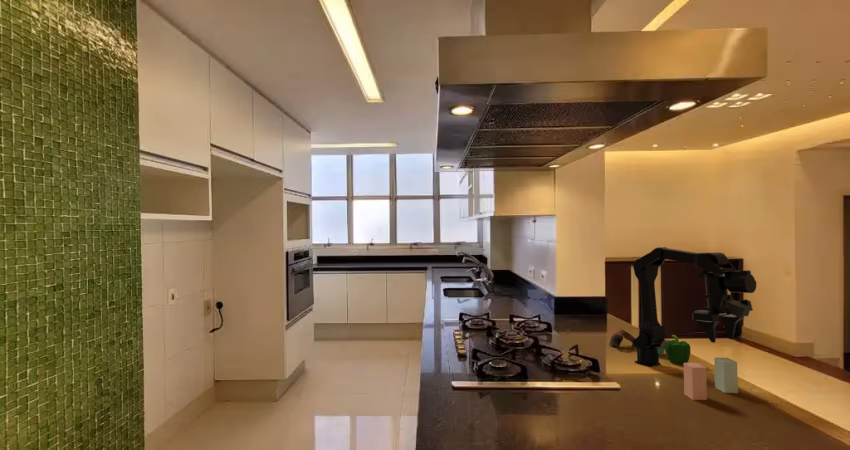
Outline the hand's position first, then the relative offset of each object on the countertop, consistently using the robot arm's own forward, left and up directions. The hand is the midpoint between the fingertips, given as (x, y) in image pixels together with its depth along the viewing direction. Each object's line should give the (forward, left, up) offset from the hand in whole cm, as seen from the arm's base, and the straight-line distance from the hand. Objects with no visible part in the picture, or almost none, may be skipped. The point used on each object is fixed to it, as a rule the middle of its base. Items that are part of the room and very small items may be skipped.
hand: (722, 340), depth 135 cm
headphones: (-47, +14, -15) cm, 51 cm away
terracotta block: (0, -16, -15) cm, 22 cm away
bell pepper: (-22, +13, -15) cm, 29 cm away
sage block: (+2, -3, -15) cm, 15 cm away
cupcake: (-33, +17, -15) cm, 40 cm away
